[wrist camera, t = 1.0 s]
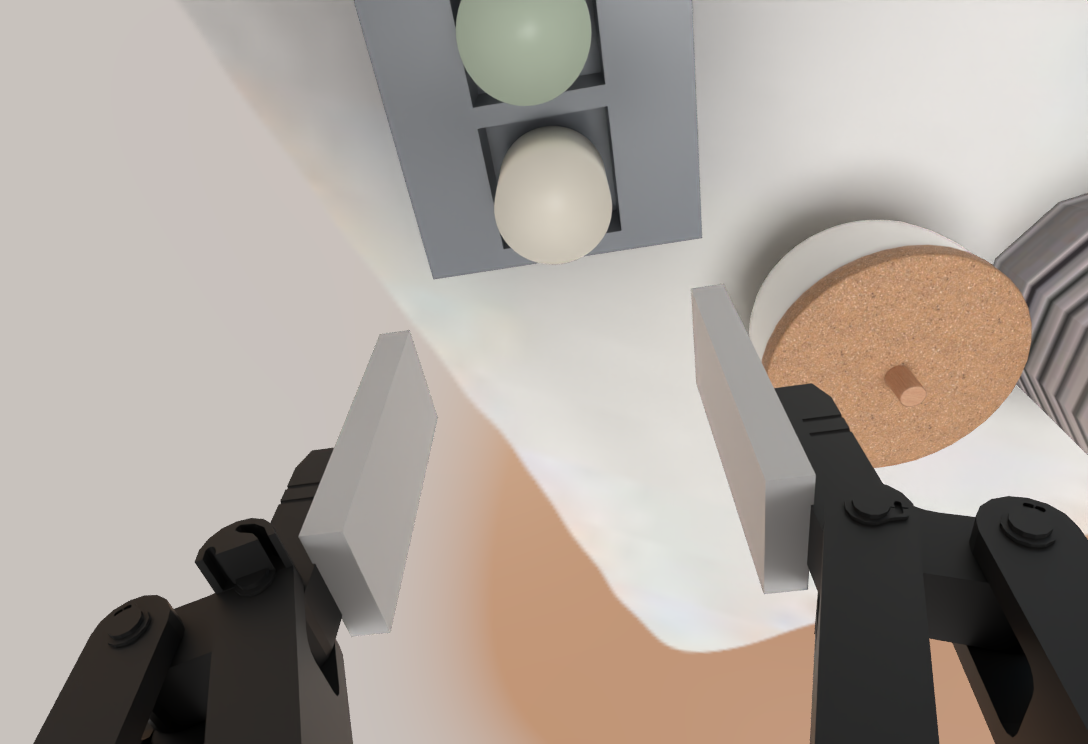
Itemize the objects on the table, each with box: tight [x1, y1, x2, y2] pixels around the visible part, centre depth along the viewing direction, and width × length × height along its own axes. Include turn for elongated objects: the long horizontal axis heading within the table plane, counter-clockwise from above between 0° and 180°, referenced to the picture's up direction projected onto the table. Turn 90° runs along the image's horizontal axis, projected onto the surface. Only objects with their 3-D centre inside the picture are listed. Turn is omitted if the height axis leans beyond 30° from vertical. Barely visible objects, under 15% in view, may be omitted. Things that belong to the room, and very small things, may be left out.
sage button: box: [456, 0, 591, 106], centre depth 24 cm, size 4×4×4 cm
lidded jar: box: [749, 220, 1032, 468], centre depth 31 cm, size 11×11×9 cm
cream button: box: [494, 126, 612, 265], centre depth 27 cm, size 4×4×4 cm
